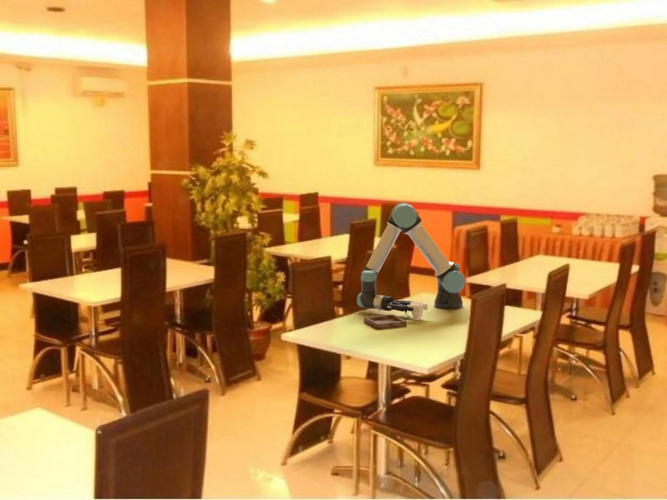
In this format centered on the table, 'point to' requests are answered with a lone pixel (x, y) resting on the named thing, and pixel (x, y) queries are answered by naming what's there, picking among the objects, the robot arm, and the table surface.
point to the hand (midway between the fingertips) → (423, 308)
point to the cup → (415, 314)
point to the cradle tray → (385, 321)
